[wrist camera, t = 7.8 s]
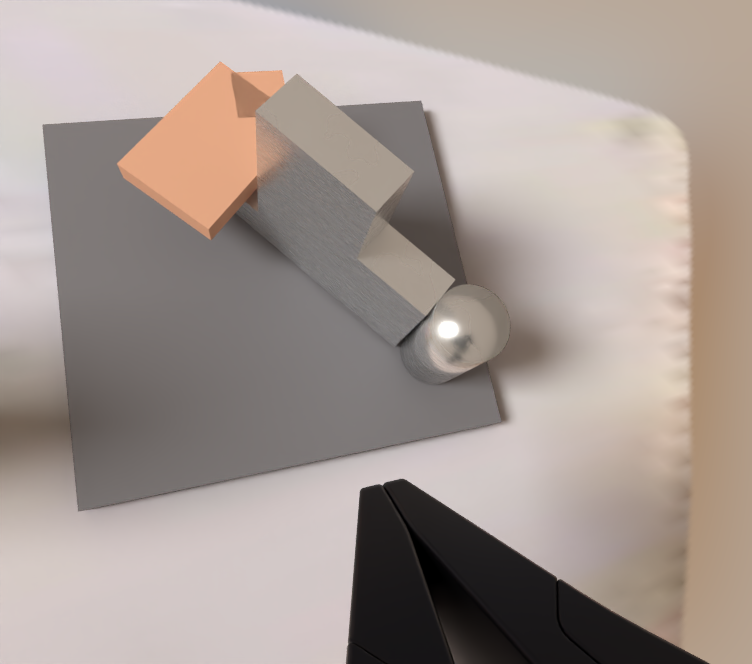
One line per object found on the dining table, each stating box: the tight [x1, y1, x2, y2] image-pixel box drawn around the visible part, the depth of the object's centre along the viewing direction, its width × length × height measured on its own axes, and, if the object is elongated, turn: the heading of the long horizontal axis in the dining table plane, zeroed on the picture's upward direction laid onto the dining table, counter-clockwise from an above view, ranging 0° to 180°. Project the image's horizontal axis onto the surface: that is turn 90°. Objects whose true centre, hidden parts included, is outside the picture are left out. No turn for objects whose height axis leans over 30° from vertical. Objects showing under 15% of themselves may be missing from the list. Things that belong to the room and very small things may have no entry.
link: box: [235, 74, 510, 385], centre depth 20 cm, size 3×15×8 cm, turn 52°
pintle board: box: [43, 62, 501, 511], centre depth 23 cm, size 16×17×5 cm
